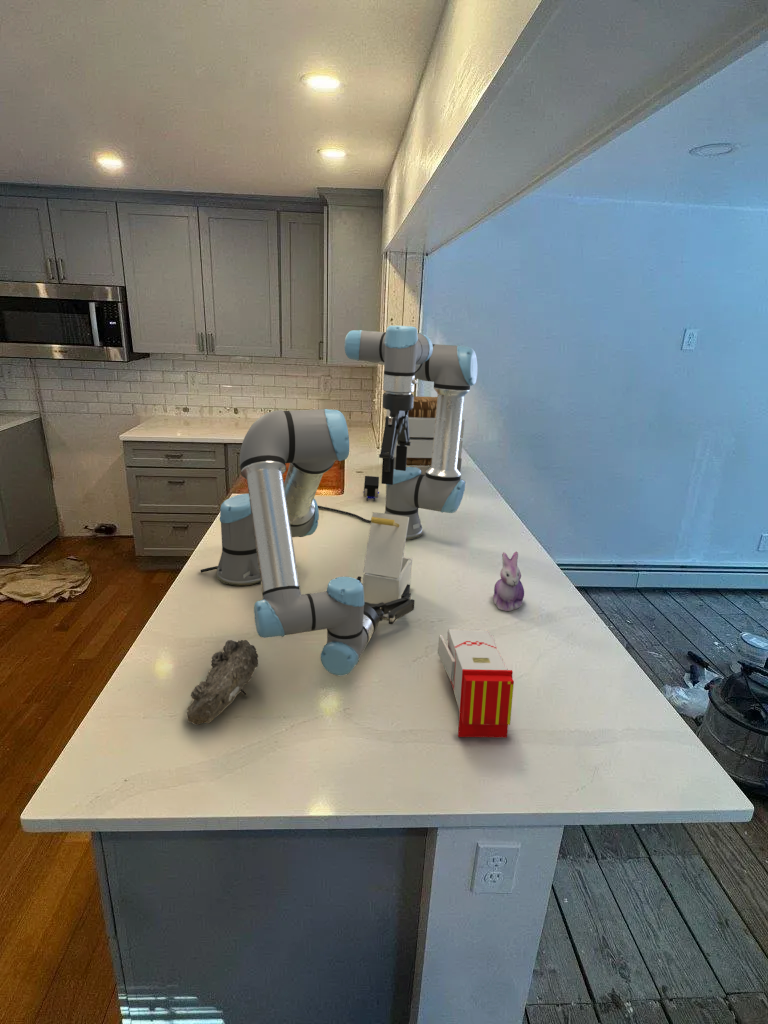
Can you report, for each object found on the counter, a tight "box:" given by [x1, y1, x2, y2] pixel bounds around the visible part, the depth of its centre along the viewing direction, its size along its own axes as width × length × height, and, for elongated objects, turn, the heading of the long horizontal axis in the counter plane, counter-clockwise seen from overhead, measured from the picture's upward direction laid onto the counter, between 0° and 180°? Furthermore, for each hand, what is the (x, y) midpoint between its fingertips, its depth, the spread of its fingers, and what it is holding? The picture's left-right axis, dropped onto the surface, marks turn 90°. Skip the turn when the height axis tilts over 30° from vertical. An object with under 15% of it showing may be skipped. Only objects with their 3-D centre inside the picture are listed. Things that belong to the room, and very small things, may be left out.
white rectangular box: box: [362, 511, 409, 578], centre depth 142 cm, size 16×10×9 cm
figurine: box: [492, 551, 525, 612], centre depth 152 cm, size 9×10×15 cm
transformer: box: [385, 395, 465, 474], centre depth 268 cm, size 34×33×41 cm
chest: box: [362, 556, 413, 604], centre depth 153 cm, size 15×10×10 cm, turn 165°
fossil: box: [186, 639, 259, 726], centre depth 113 cm, size 22×10×15 cm
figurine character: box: [362, 475, 380, 502], centre depth 236 cm, size 7×8×15 cm
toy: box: [437, 628, 515, 738], centre depth 117 cm, size 12×13×30 cm
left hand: (383, 585), depth 149 cm, fingers open, 13 cm apart
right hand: (394, 476), depth 145 cm, fingers open, 13 cm apart
